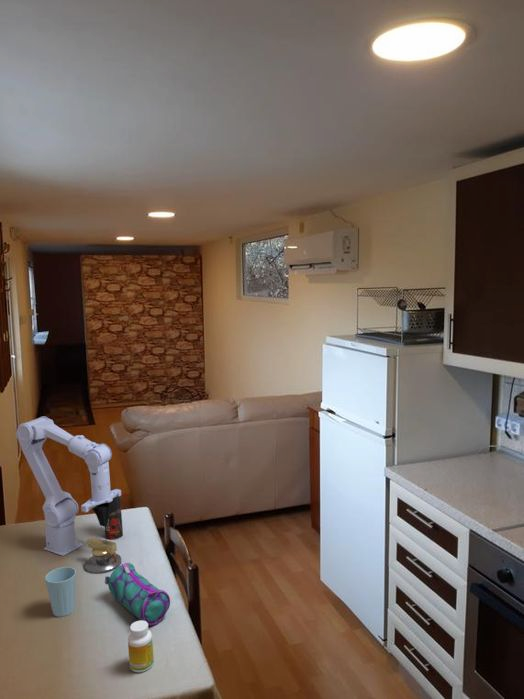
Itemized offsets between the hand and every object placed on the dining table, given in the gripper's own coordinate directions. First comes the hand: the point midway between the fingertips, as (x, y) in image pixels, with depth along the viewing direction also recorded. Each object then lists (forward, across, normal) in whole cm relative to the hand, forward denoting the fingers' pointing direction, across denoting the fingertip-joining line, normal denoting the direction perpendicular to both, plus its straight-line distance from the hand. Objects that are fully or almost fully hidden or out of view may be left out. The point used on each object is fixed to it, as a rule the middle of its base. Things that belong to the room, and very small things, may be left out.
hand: (103, 525), depth 173 cm
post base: (+10, -4, -3) cm, 12 cm away
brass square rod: (+6, -4, -3) cm, 8 cm away
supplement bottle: (+11, -31, -45) cm, 56 cm away
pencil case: (+11, -15, -29) cm, 35 cm away
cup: (+11, -26, -12) cm, 31 cm away
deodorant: (+11, +11, +8) cm, 17 cm away
